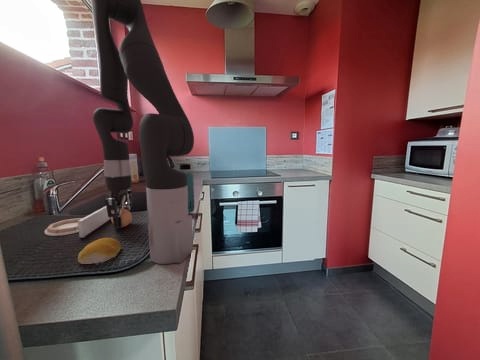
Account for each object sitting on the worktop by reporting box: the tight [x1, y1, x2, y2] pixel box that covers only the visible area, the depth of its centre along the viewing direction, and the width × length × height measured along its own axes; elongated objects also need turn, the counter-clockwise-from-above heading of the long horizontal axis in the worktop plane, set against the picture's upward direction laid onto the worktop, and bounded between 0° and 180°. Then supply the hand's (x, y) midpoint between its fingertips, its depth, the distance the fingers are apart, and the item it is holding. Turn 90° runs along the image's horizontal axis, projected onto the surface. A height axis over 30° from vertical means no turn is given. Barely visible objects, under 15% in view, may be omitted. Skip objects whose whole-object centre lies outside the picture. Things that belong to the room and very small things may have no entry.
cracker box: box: [129, 153, 140, 184], centre depth 151 cm, size 14×6×21 cm, turn 152°
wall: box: [78, 205, 111, 238], centre depth 70 cm, size 16×1×5 cm, turn 7°
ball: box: [110, 209, 133, 228], centre depth 70 cm, size 6×6×6 cm
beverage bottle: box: [179, 163, 195, 214], centre depth 82 cm, size 6×7×20 cm
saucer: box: [44, 217, 84, 237], centre depth 69 cm, size 12×12×2 cm
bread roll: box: [77, 237, 122, 265], centre depth 52 cm, size 8×9×4 cm
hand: (122, 224), depth 71 cm, fingers closed on ball, 6 cm apart
